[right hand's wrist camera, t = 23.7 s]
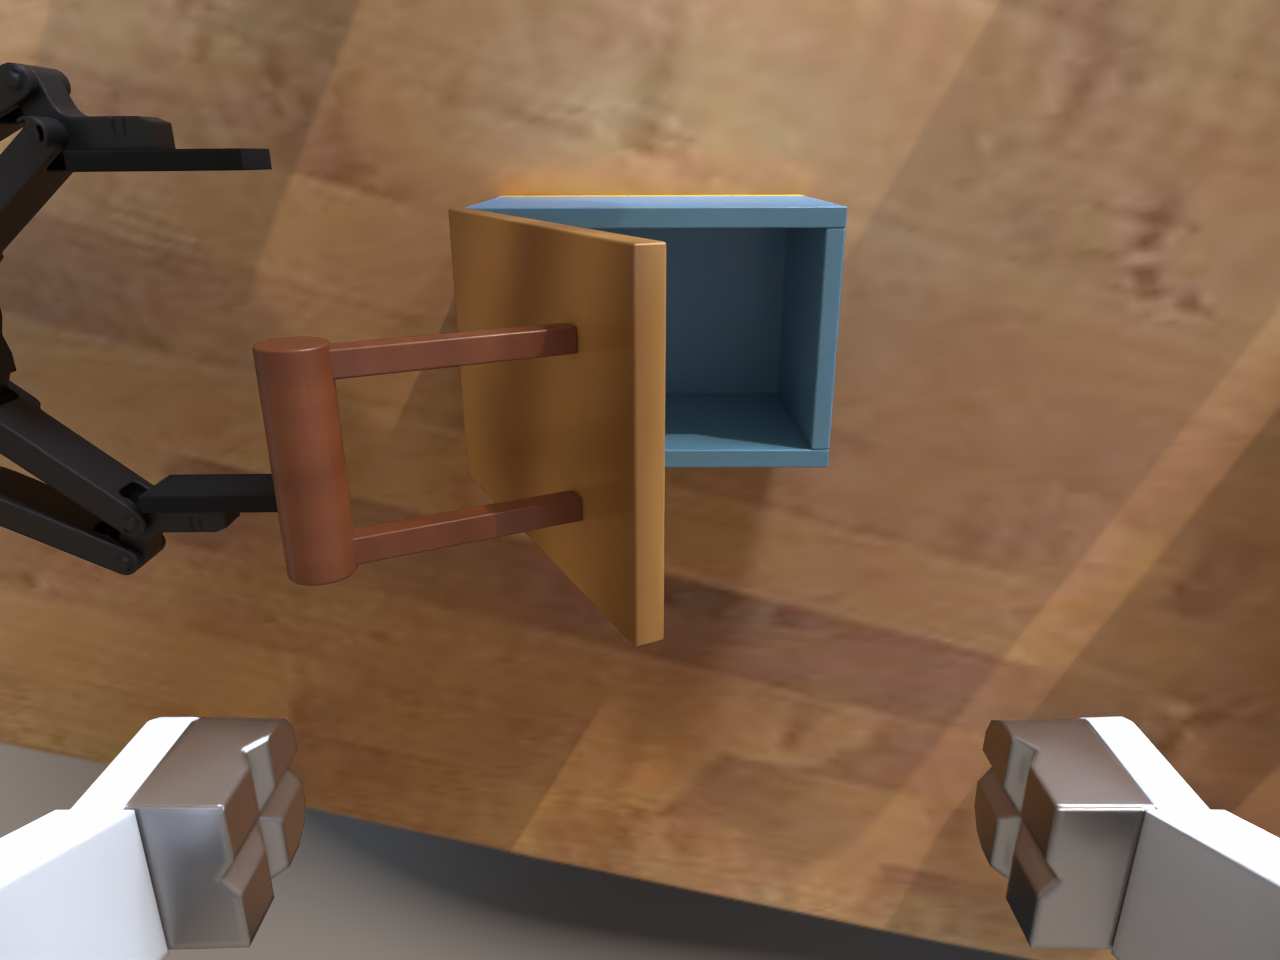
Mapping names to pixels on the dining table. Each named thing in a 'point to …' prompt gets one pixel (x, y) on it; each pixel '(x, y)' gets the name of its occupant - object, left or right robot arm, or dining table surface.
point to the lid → (506, 414)
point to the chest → (733, 316)
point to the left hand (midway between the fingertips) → (284, 336)
